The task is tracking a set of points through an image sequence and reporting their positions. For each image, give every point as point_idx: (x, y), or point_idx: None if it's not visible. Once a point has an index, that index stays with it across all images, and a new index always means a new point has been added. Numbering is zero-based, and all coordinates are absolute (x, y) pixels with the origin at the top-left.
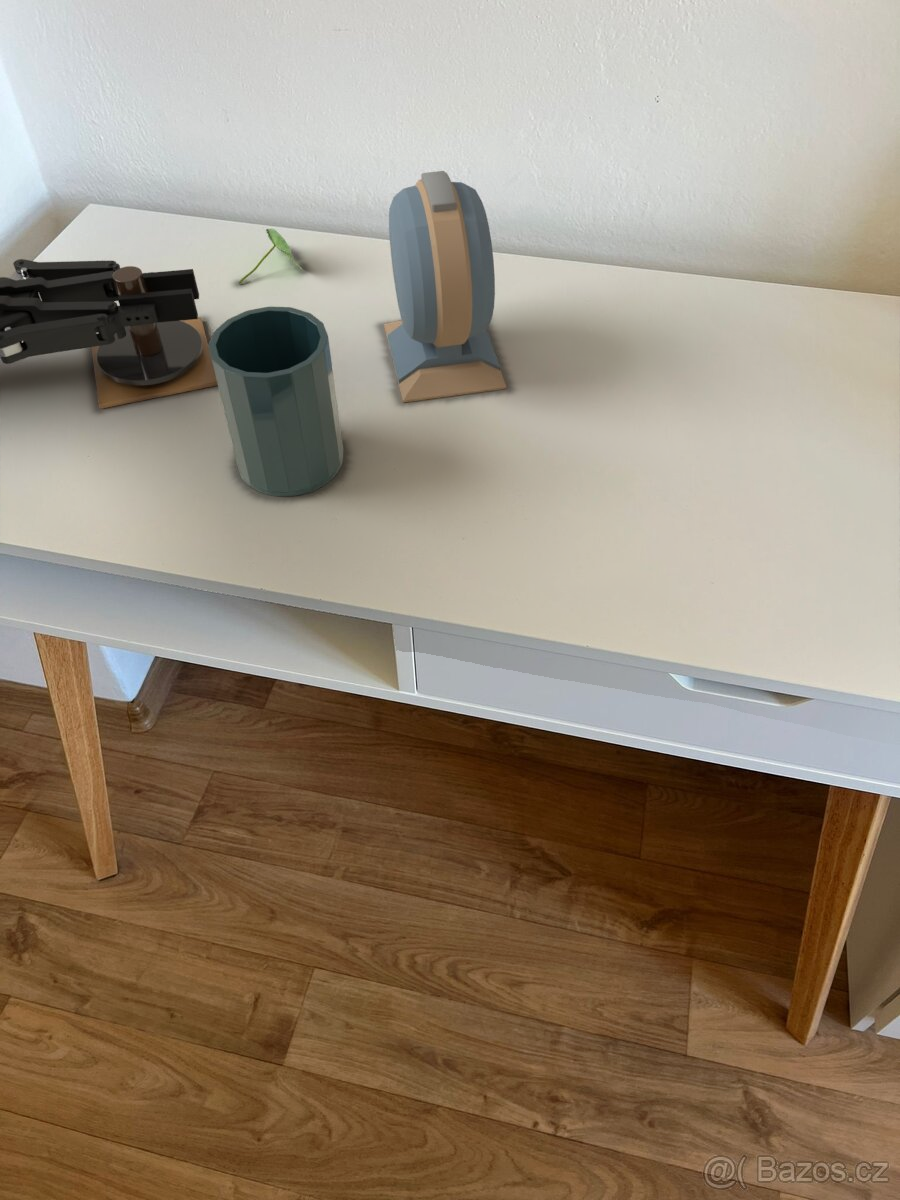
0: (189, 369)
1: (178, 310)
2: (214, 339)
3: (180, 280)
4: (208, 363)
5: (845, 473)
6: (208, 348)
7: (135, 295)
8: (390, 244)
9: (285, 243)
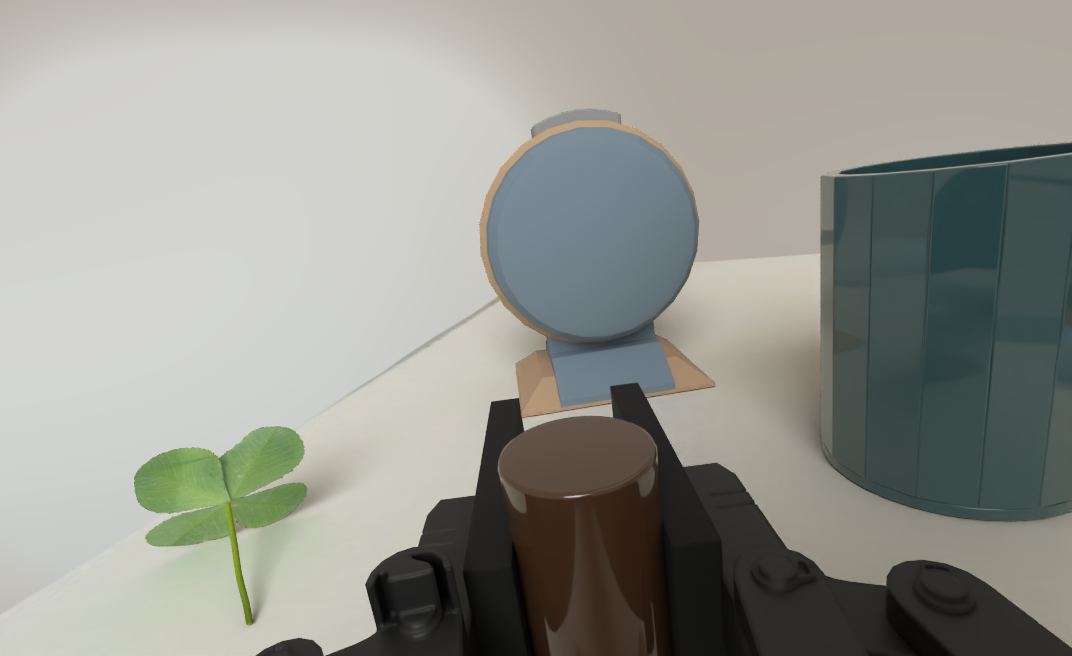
0: None
1: None
2: (1045, 156)
3: None
4: None
5: (736, 264)
6: None
7: (667, 487)
8: (517, 261)
9: (290, 444)
